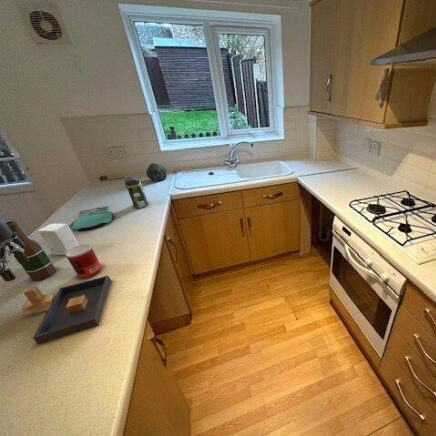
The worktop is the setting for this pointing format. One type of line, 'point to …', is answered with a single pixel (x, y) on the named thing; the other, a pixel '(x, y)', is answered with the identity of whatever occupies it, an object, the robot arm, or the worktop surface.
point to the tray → (71, 323)
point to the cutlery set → (92, 218)
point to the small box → (58, 238)
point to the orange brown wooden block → (77, 304)
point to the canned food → (84, 261)
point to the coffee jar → (136, 192)
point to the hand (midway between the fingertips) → (18, 271)
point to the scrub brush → (37, 301)
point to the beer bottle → (33, 256)
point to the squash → (156, 172)
